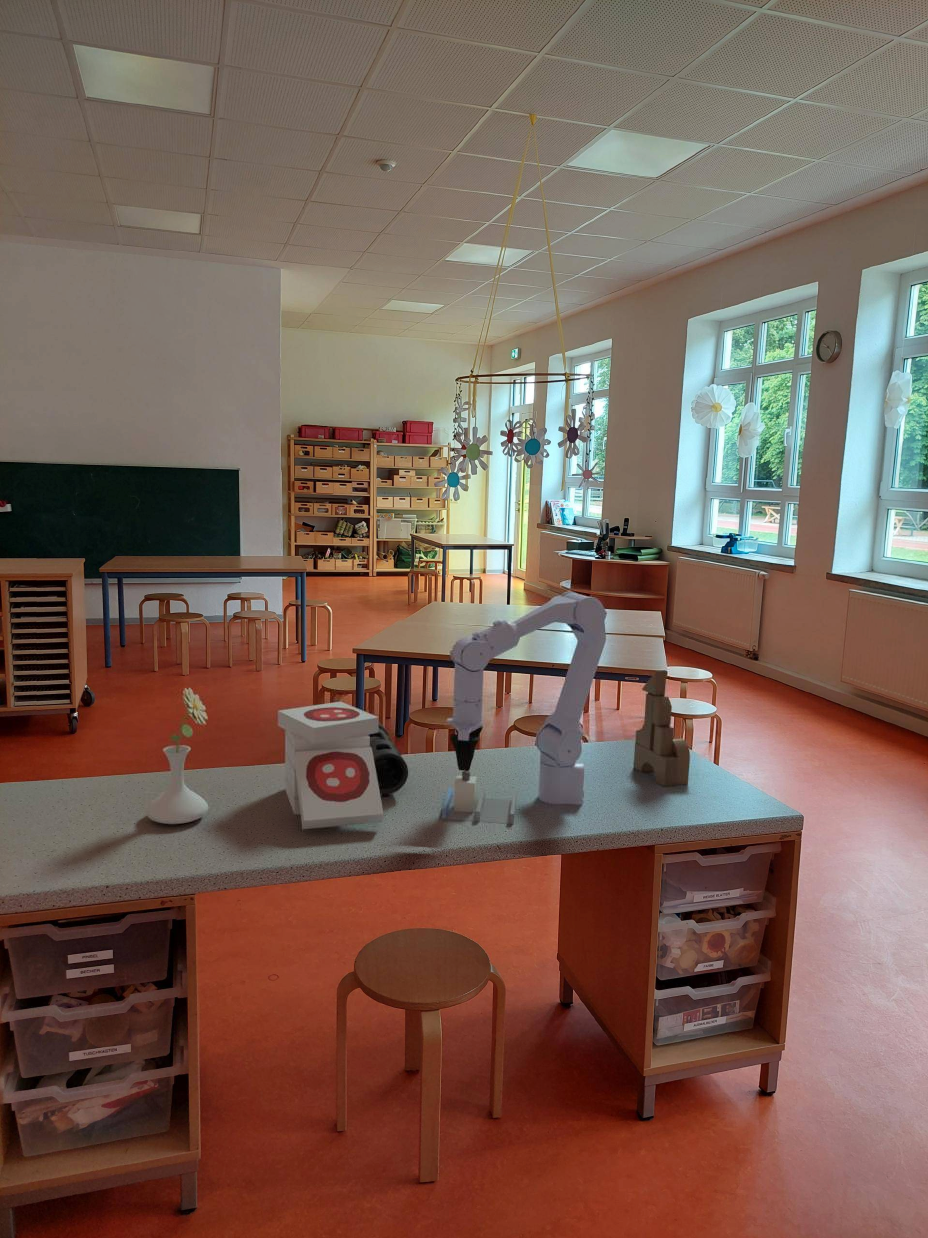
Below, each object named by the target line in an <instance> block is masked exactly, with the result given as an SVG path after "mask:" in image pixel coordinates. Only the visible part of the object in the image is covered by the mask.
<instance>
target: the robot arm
mask: <svg viewBox="0 0 928 1238" xmlns="http://www.w3.org/2000/svg"><path fill="white" fill-rule="evenodd" d="M607 615H608V612H607V610H606V608H605V607H604V605H603V603H602V602H601V601H600V600H599V599H598V598H597V597H594V596H593V597H592V596H586V595H583V594H580V593H577V592H575V591H569V590H568V591H566V592H563V593H562V594H560V595H556V596H554V597H552V598H551V599H550V600H549V601H548V602H546V603H544V604H542V605H540V606H538V607H537V608H535V609H534V610H532V611H529V612H527V614H525V615H523V616H521V617H520V618H518V619H516V620H514V621H512V622H511V621H508V620H500V619H499V620H498V619H497V620H495V621H493V622H492V624H493V625H492V626H490V627H488V628H486V629H482V630H481V631H480V632H479V631H475V632H473V633H472V636H471V637H462V638H459V639H458V640H456V642H455V644H453V645H452V649H451V650H450V651H449V654H450V658H451V661H452V662H453V663H454V676H453V677H454V678H453V702H452V704H453V705H452V706H453V707H452V708H453V709H452V710H453V711H452V717H451V718H450V717H448V718H447V719H446V724H447V725H452V726H453V727H454V731H455V733H451V734H450V737H449V739H450V740H449V741H450V742H451V744H452V746H453V749H454V752H455V757H456V763H457V764H456V765H457V769H458V771H462V772H463V771H469V772H470V769H471V765H472V762H473V759H474V757H475V750H476V747H477V744H478V743H479V741H480V737H479V736H480V734H481V733H482V731H483V728H484V725H483V723H484V722H483V720H482V719H483V698H484V697H483V695H484V694H483V693H484V669H485V668H486V667H487V666H488V664H489V662H490V660H492V659H494V658H496V657H498V656H500V655H502V654H504V653H505V652H508V651H509V650H512V649H514V648H516V647H517V646H518V644H519V642H520V639H521V638H522V637H524V636H526V635H529V634H531V633H533V632H536V631H538V630H541V629H542V628H545V627H547V626H549V625H551V624H554V623H557V624H559V623H561V624H566V626H567V627H569V628H570V630H571V632H572V634H573V635H574V637H575V639H576V640H577V642H576V645H575V648H574V652H573V655H572V658H571V661H570V663H569V667H568V670H567V672H566V676H565V679H564V682H563V684H562V688H561V691H560V693H559V697H558V700H557V703H556V706H555V710H554V711H553V713H551V714H550V715H548V716H547V717H546V718H545V722H544V723H543V725H542V727H541V728H540V729H539V730H538V732H537V733H536V736H535V742H534V743H535V746H536V748H537V749H538V750H539V752H540V755H539V756H540V757H539V760H540V761H539V772H538V773H539V776H538V791H537V792H538V793H537V795H538V799H539V800H540V801H541V802H543V803H547V804H552V805H576V806H577V805H579V806H583V799H584V798H585V789H584V784H585V783H584V779H585V764H584V763H585V762H584V763H583V762H579V761H578V760H579V759H580V757H581V754H582V751H583V749H582V740H583V736H584V732H583V729H582V725H581V721H580V720H581V717H582V714H583V712H584V708H585V705H586V702H587V699H588V696H589V693H590V690H591V687H592V684H593V681H594V679H595V678H594V677H595V675H596V672H597V669H598V666H599V663H600V660H601V656H602V654H603V650H604V647H605V645H606V641H607V633H606V622H605V621H606V618H607Z"/></svg>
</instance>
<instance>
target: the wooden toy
mask: <svg viewBox="0 0 928 1238" xmlns="http://www.w3.org/2000/svg"><path fill="white" fill-rule="evenodd" d="M666 681H667V670H666V669H665V670H663V669H662V670H655V672H654V673H653V674H652V676H651V677H650V678H649V680H648V681H647V682H646V683H645V684H644V685H643V686H642V688H641V690H642V691H643V692H646V694H645V703H644V706H645V707H644V718H643V719H644V722H643V724H642V726H641V728H640V729H637V730H635V740H634V741H635V742H634V754H633V755H634V756H633V769H635V770H637V771H638V772H640V773H645V772H646V773H647V772H653V771H654V774H655V782H656V783H657V784H660V785H662V786H663V787H672V786H673V787H674V786H679V785H688V784H689V774H690V764H691V763H690V761H691V754H690V753H691V752H690V749H689V745H688V743H687V742H686V740H685V738H674V734H675V728H674V727H672V726H671V723H672V710H673V709H672V708H673V707H672V703H671V700H670V698H669V696H667V695H666V685H667V682H666Z"/></svg>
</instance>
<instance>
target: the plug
mask: <svg viewBox="0 0 928 1238" xmlns="http://www.w3.org/2000/svg"><path fill="white" fill-rule="evenodd" d="M477 778H478V777H477V776H471V771H470V770H469V771H463V770H462V772H461V775H459V774H458V775H457V776H456V778H455V780H454V792H453V796H454V811H462V812H474V810H475V806H476V797H477V785H478V784H477V782H478V781H477Z"/></svg>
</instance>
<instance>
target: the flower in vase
mask: <svg viewBox="0 0 928 1238" xmlns="http://www.w3.org/2000/svg"><path fill="white" fill-rule="evenodd" d="M193 691H194V690H192V688H191V687H188V689H187V688H184V690H183V692H182V693H183V695H182V698H183V700H182V701H183V704H184V705H185V709H186V710H187V711H186V712H185V714H184V717H183V719H182V721H181V724H180V729H179V732H178V733H179V734H178V735H176V734H174V733H173V734H172V735H171V737H170V738H169V739H168V741H170V742H177V744H176V745H175V744H174V745H169V746H166V747H164V748H163V749H162V751H163V752H162V753H164V754H165V755H166V757H167V759H168V763H169V766H170V767H169V768H170V785H169V786H168V788H167V789H166V790H165V791H164V792H163V793H161V794H159V796H157V797H156V798H155V799H154V800H153V801H152V802H151V803H150V804H149V805H148V806H147V809H146V812H145V814H146V816H147V817H148V818H149V820H151V821H153V822H155V823H158V824H159V823H160V824H167V825H178V824H179V825H180V824H185V823H190V822H194V821H197V820H199V819H201V818H203V817H204V816H205V815H206V814H207V813H208V812H209V804H208V803H207V801H206V800H205V799H204V798H203V797H201V796H200V795H199V794H197V793H196V792H194V791H192V790H191V789H189V788H188V787H187V786H186V783H185V781H184V780H185V779H184V767H185V766H184V765H185V761H186V758H187V755H188V754H189V752H190V751H191V747H190V746H188V745H183V744H182V745H181V744H180V741H181V740H183V739H184V736H185V737H186V738H190V737H192V736H193V728H192V727H191V726H190V725H188V724H184V723H185V722H186V718H187V716H188V715H189V716H190V717H191V719H192V720H193V721H194V723H195V724H196V725H200V726H204V725H207V723H206V721H208V719H209V718H208V714H207V712H205V711H206V706H205V705H204V704H203V702H202V700H200V696H199V694H194V692H193ZM205 720H206V721H205ZM182 735H184V736H182Z"/></svg>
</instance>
